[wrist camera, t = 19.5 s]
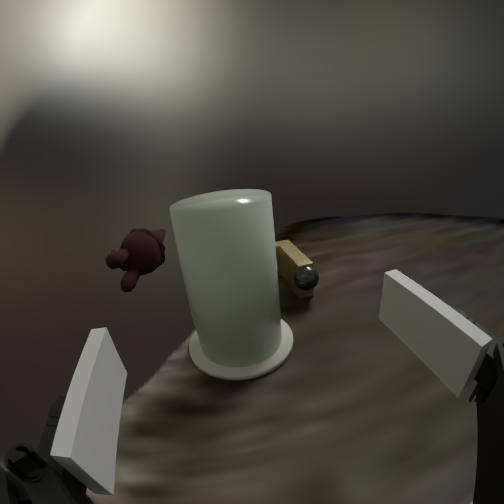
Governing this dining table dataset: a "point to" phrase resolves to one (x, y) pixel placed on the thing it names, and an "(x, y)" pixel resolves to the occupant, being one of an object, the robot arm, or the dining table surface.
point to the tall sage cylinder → (230, 273)
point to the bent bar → (296, 269)
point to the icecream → (138, 255)
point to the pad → (242, 372)
